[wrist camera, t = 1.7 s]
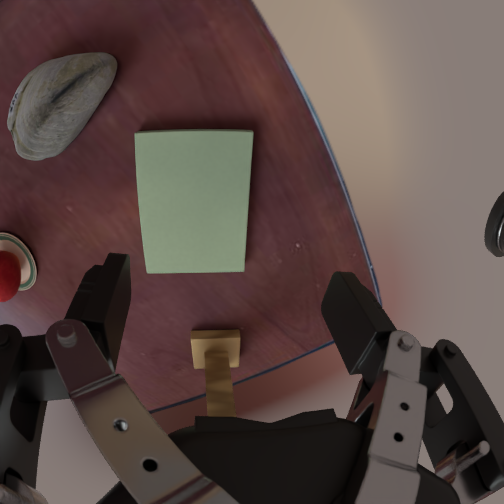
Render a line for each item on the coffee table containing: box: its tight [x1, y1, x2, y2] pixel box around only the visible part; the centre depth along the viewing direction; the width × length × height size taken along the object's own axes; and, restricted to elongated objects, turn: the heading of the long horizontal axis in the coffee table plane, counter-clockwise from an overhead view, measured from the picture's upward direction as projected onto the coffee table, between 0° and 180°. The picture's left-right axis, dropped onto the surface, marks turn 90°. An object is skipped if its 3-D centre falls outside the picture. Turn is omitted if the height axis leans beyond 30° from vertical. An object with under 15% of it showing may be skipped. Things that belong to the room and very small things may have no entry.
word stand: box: [191, 329, 240, 417], centre depth 24 cm, size 6×6×32 cm
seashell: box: [7, 52, 117, 160], centre depth 18 cm, size 12×8×5 cm
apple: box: [0, 233, 37, 302], centre depth 24 cm, size 8×8×6 cm
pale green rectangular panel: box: [135, 129, 254, 273], centre depth 27 cm, size 10×14×1 cm
